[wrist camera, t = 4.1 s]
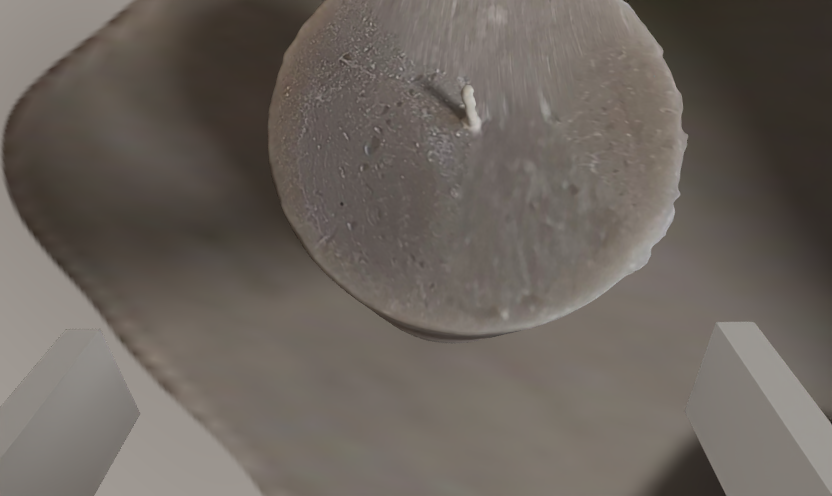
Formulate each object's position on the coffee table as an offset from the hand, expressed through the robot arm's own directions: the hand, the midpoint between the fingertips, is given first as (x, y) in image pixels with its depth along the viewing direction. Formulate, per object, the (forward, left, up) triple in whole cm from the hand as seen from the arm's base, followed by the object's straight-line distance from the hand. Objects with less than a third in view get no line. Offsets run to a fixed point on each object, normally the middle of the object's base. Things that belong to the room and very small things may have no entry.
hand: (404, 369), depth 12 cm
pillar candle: (-5, -3, -13) cm, 14 cm away
